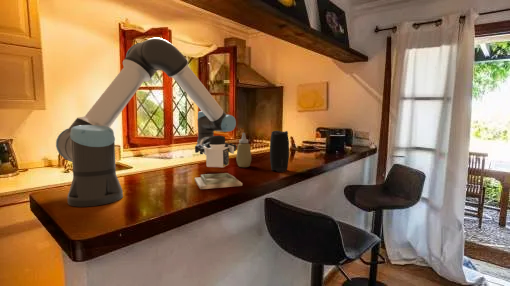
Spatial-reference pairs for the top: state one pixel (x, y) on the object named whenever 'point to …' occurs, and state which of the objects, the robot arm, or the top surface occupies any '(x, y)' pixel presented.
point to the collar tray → (217, 181)
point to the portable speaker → (279, 151)
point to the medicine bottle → (217, 152)
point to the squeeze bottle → (243, 152)
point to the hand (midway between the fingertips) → (220, 150)
